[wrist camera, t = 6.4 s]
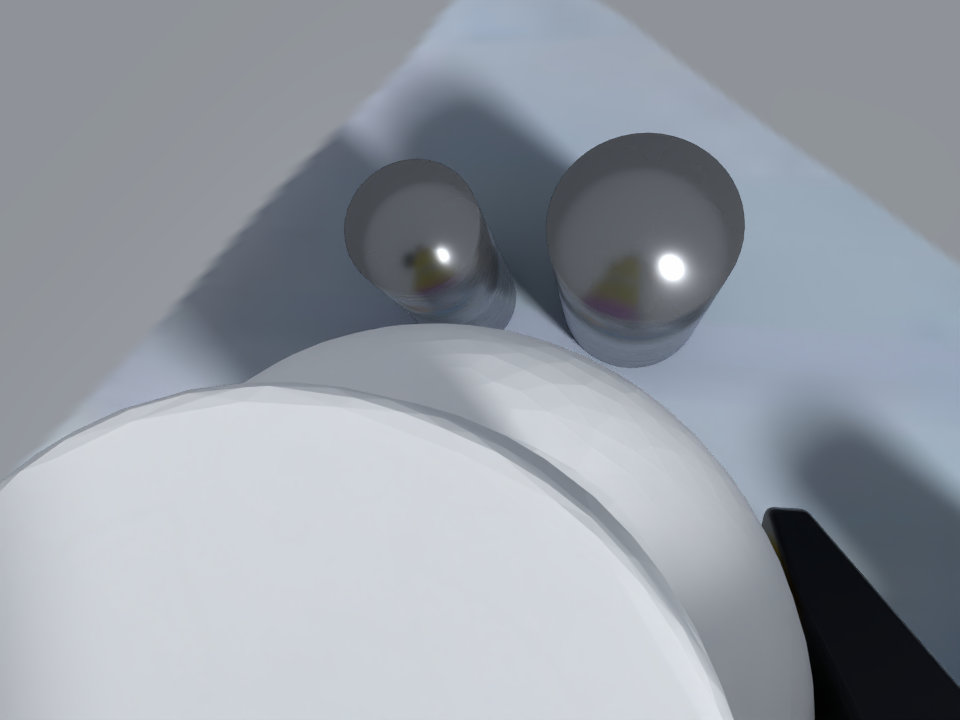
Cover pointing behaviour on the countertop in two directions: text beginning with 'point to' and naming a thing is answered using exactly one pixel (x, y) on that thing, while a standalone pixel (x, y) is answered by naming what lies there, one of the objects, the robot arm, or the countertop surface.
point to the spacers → (563, 245)
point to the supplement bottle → (394, 550)
